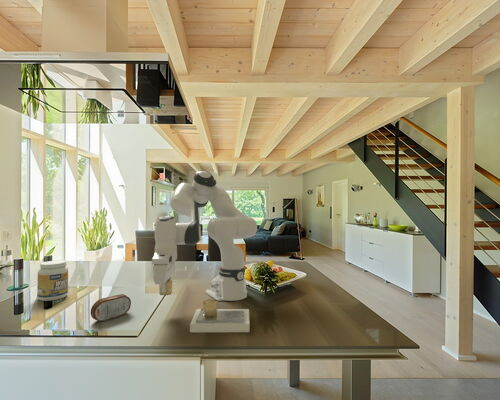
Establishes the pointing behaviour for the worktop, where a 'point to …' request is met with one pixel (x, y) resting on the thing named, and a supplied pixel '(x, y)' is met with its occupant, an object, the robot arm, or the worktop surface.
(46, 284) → the supplement tub
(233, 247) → the robot arm
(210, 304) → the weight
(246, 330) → the scale
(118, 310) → the tin
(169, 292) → the weight
